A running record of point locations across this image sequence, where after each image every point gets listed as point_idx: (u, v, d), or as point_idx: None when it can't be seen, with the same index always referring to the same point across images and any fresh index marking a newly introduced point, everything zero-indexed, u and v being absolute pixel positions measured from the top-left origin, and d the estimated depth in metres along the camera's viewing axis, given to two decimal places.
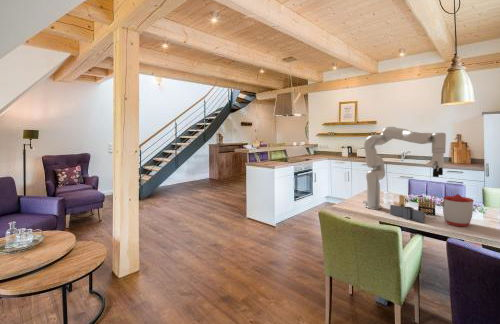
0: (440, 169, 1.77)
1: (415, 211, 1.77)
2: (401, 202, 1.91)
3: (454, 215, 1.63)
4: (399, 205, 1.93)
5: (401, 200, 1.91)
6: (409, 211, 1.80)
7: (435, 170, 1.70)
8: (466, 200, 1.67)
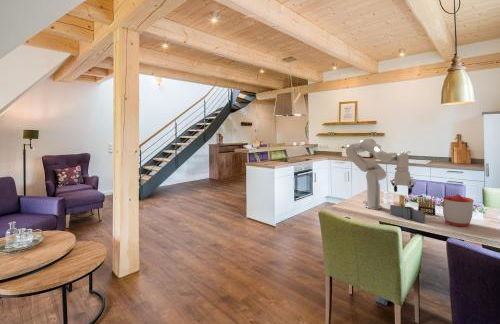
0: (396, 186, 1.95)
1: (415, 211, 1.77)
2: (401, 202, 1.91)
3: (454, 215, 1.63)
4: (399, 205, 1.93)
5: (401, 200, 1.91)
6: (409, 211, 1.80)
7: None
8: (466, 200, 1.67)
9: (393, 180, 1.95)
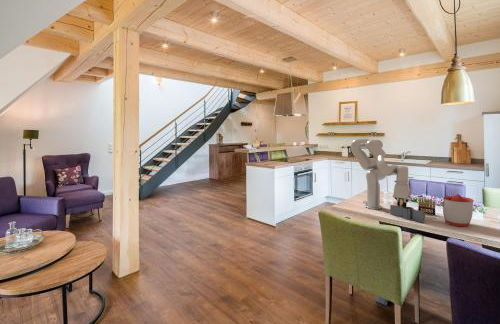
0: None
1: (415, 211, 1.77)
2: (401, 202, 1.91)
3: (454, 215, 1.63)
4: (399, 205, 1.93)
5: (401, 200, 1.91)
6: (409, 211, 1.80)
7: (406, 201, 1.90)
8: (466, 200, 1.67)
9: None
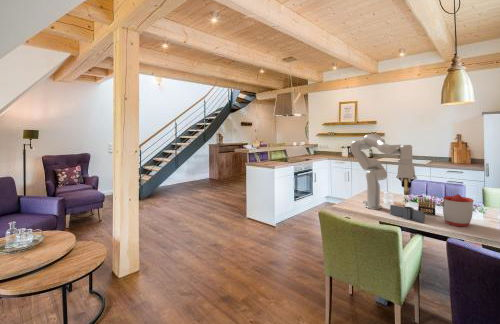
0: None
1: (415, 211, 1.77)
2: (406, 182, 1.84)
3: (454, 215, 1.63)
4: (404, 185, 1.85)
5: (406, 180, 1.84)
6: (409, 211, 1.80)
7: (411, 181, 1.82)
8: (466, 200, 1.67)
9: None
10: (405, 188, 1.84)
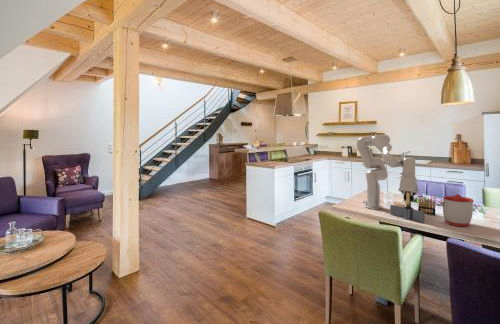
0: None
1: (415, 211, 1.77)
2: (408, 195, 1.81)
3: (454, 215, 1.63)
4: (406, 199, 1.82)
5: (408, 193, 1.80)
6: (409, 211, 1.80)
7: None
8: (466, 200, 1.67)
9: None
10: (407, 201, 1.81)
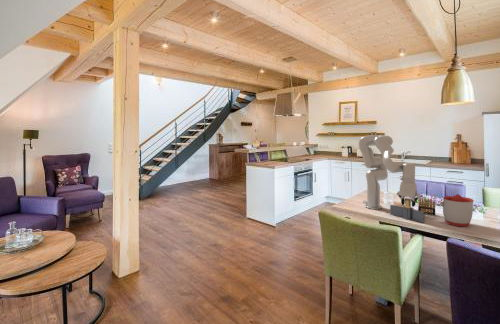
0: (403, 199, 1.85)
1: (415, 211, 1.77)
2: (407, 206, 1.81)
3: (454, 215, 1.63)
4: None
5: (407, 203, 1.81)
6: (409, 211, 1.80)
7: (415, 200, 1.78)
8: (466, 200, 1.67)
9: None
10: None
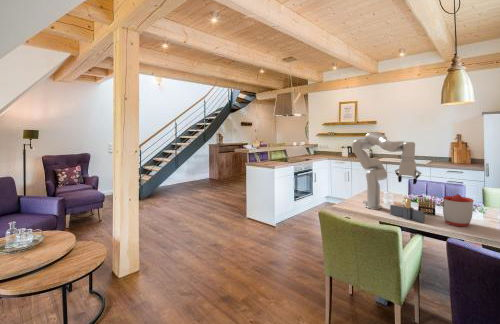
0: (400, 176, 1.88)
1: (415, 211, 1.77)
2: (407, 206, 1.81)
3: (454, 215, 1.63)
4: None
5: (407, 203, 1.81)
6: (409, 211, 1.80)
7: (417, 177, 1.79)
8: (466, 200, 1.67)
9: (398, 170, 1.88)
10: None
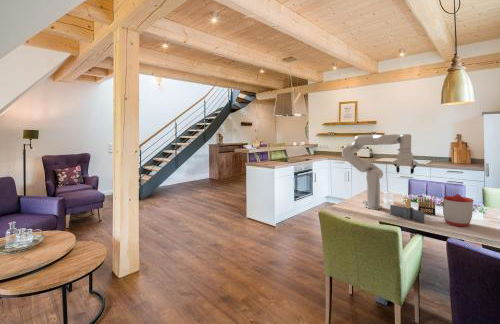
0: (398, 167, 1.99)
1: (415, 211, 1.77)
2: (407, 206, 1.81)
3: (454, 215, 1.63)
4: None
5: (407, 203, 1.81)
6: (409, 211, 1.80)
7: (414, 167, 1.90)
8: (466, 200, 1.67)
9: (396, 161, 1.99)
10: None
